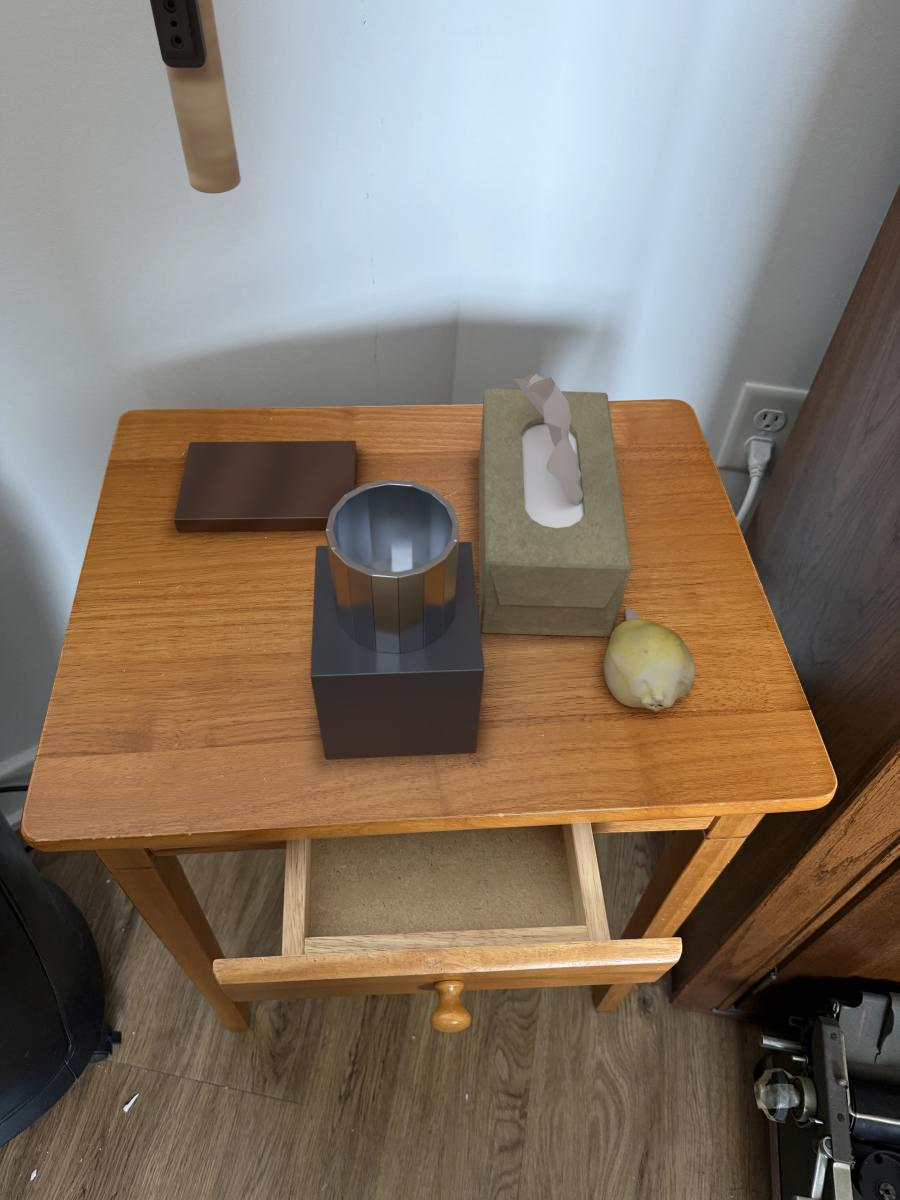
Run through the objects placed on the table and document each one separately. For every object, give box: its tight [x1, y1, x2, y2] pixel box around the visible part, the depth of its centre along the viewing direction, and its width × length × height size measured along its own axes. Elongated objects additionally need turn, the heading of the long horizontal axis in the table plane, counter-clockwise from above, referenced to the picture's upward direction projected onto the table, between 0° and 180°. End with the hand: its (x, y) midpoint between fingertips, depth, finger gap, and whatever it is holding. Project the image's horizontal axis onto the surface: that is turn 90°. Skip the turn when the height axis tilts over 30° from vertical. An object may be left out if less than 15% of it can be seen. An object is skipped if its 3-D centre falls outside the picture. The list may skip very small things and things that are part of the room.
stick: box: [164, 0, 242, 194], centre depth 48 cm, size 3×3×12 cm
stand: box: [309, 541, 485, 760], centre depth 58 cm, size 10×10×10 cm
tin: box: [325, 479, 461, 654], centre depth 51 cm, size 7×7×7 cm
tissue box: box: [478, 372, 633, 638], centre depth 65 cm, size 19×10×16 cm, turn 179°
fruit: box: [603, 607, 697, 712], centre depth 62 cm, size 6×6×10 cm
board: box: [173, 440, 358, 533], centre depth 73 cm, size 14×9×2 cm, turn 92°
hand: (190, 49), depth 47 cm, fingers closed on stick, 3 cm apart
